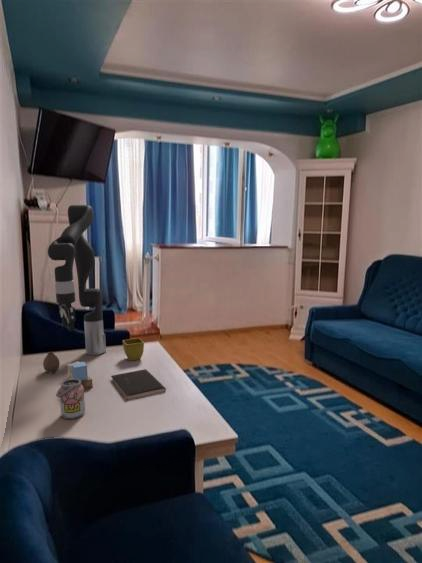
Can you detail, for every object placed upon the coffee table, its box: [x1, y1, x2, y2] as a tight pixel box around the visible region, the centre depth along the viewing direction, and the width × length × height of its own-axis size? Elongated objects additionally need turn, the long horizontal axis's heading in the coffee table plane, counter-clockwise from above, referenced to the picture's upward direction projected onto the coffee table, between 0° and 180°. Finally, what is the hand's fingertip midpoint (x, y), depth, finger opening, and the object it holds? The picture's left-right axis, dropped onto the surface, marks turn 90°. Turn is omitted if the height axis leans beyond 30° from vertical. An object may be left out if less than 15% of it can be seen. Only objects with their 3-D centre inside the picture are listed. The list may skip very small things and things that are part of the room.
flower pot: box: [122, 337, 145, 361], centre depth 204 cm, size 9×9×9 cm
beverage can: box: [55, 378, 86, 420], centre depth 147 cm, size 9×8×12 cm
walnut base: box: [67, 376, 94, 391], centre depth 171 cm, size 7×7×4 cm
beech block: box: [67, 361, 80, 379], centre depth 182 cm, size 5×5×6 cm
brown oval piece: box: [42, 351, 61, 374], centre depth 190 cm, size 7×7×9 cm
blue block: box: [72, 361, 89, 381], centre depth 171 cm, size 5×5×6 cm
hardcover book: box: [110, 368, 167, 400], centre depth 173 cm, size 16×23×2 cm
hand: (68, 328), depth 177 cm, fingers open, 8 cm apart
